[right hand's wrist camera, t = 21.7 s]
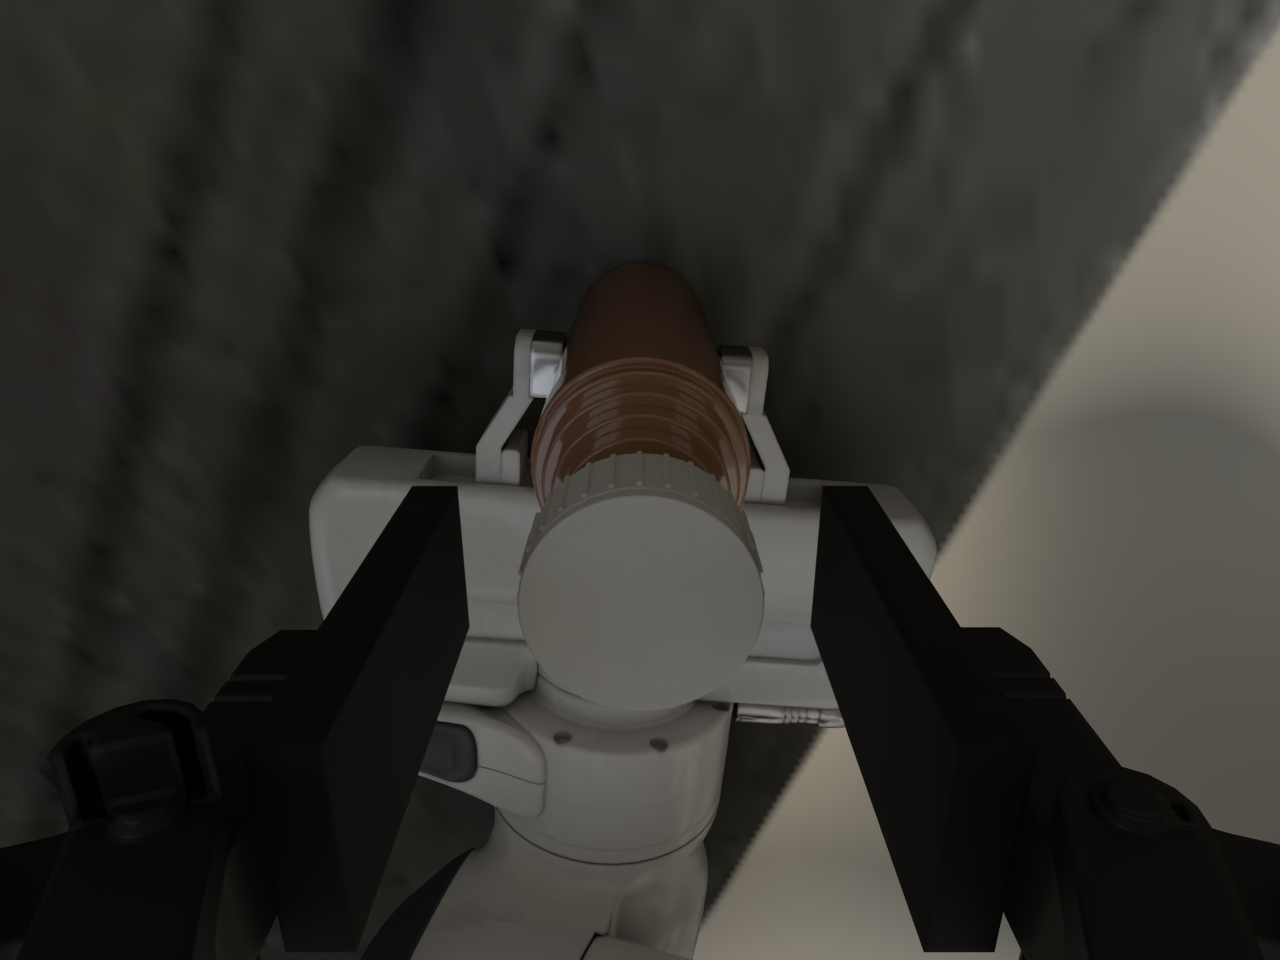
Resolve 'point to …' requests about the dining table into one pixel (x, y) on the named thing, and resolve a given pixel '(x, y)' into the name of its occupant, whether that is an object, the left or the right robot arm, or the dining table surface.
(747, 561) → the cap
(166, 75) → the dining table surface
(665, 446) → the bottle
